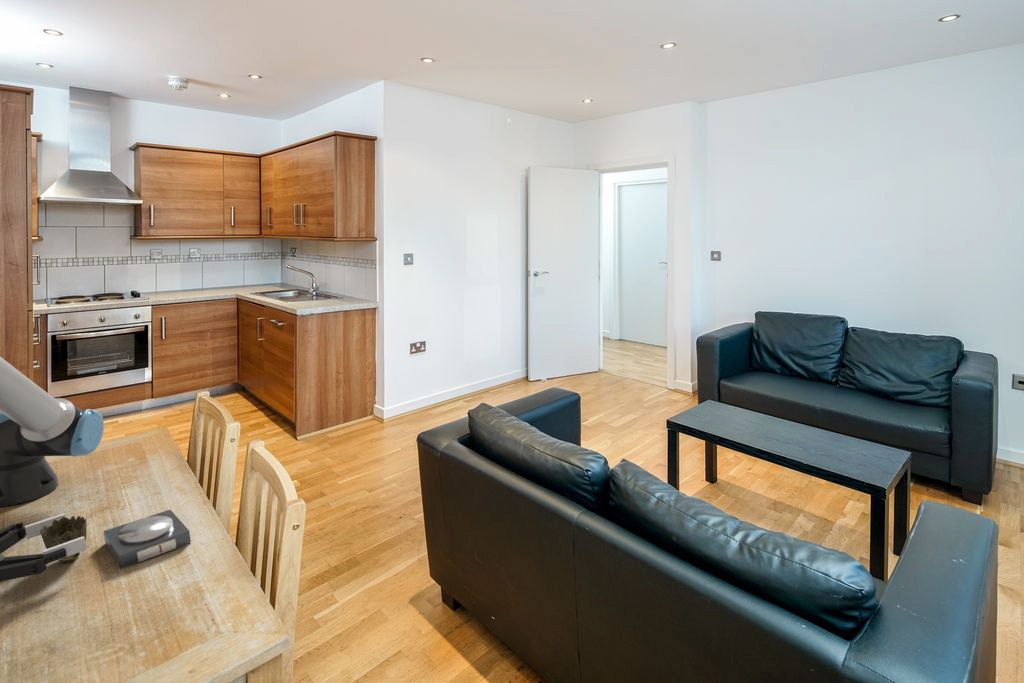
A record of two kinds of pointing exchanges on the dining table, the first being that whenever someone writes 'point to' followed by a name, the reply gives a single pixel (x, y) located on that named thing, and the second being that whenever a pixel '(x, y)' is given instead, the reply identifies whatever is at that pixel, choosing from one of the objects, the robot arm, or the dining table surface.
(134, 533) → the kitchen scale
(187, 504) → the dining table surface
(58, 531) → the cup
